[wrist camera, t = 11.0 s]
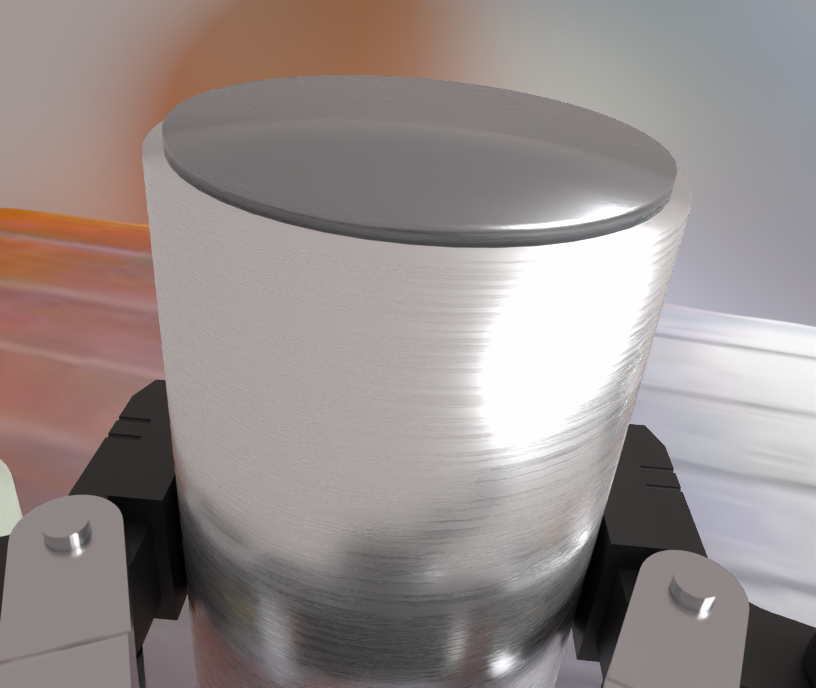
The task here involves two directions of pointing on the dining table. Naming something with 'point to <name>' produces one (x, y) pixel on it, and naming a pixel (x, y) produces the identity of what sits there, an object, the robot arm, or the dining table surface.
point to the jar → (8, 502)
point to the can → (399, 369)
